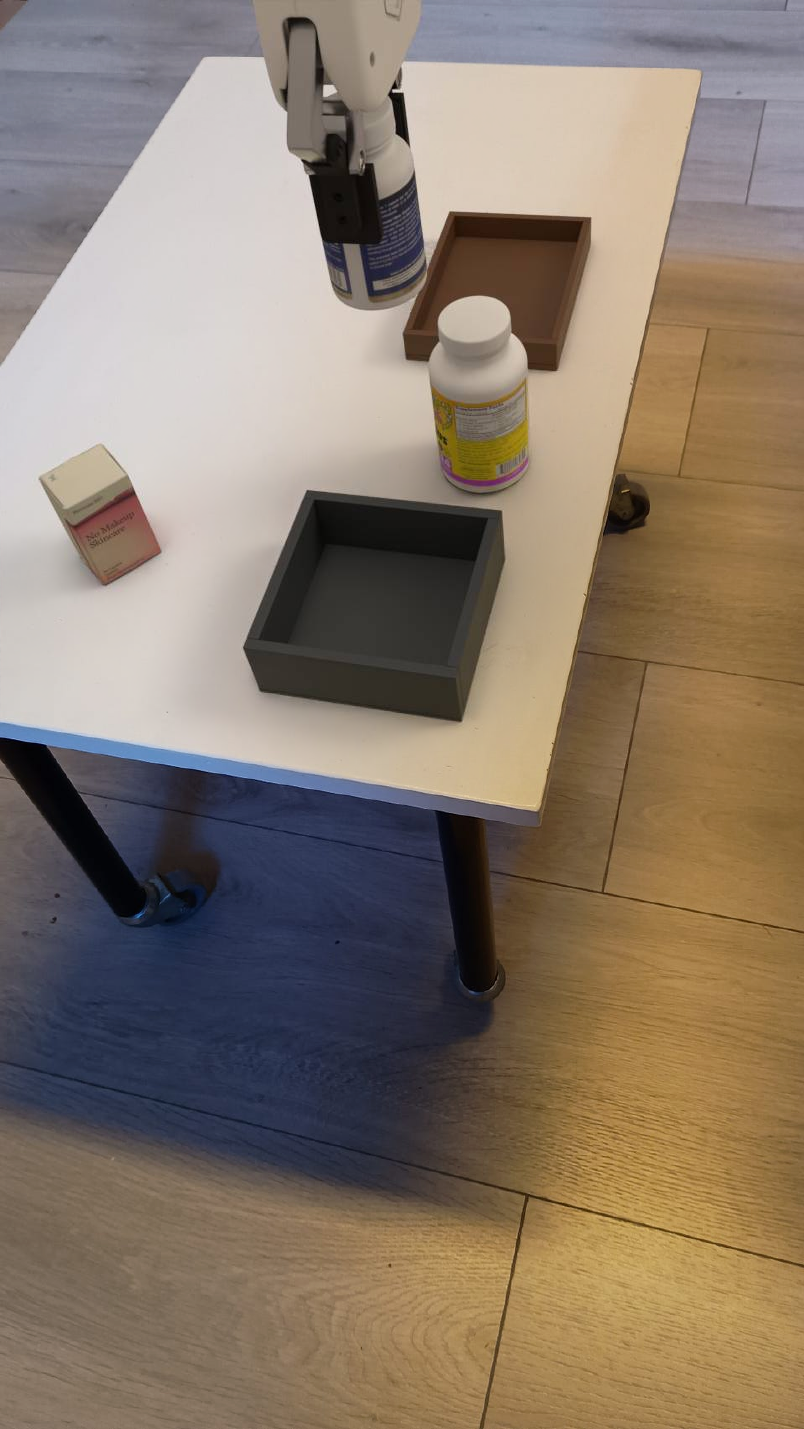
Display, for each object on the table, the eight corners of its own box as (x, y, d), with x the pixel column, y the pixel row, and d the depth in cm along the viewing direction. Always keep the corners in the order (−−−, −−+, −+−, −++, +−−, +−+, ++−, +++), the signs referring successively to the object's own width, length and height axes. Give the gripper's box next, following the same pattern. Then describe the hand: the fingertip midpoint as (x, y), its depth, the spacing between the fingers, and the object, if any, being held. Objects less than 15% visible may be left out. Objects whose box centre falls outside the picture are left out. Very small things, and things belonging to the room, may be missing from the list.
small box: (104, 587, 79) (62, 510, 73) (77, 554, 82) (35, 476, 75) (164, 552, 81) (129, 472, 74) (136, 519, 83) (100, 440, 76)
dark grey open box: (319, 537, 80) (306, 489, 76) (505, 558, 77) (502, 509, 73) (259, 691, 73) (242, 647, 69) (461, 722, 70) (455, 678, 66)
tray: (451, 237, 97) (449, 210, 95) (590, 243, 95) (591, 216, 92) (405, 359, 89) (402, 333, 87) (556, 370, 86) (556, 344, 84)
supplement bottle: (446, 432, 84) (429, 285, 73) (533, 432, 83) (530, 283, 72) (435, 497, 80) (416, 352, 70) (526, 498, 79) (521, 351, 69)
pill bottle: (440, 257, 62) (421, 80, 54) (411, 318, 60) (387, 142, 52) (351, 249, 64) (319, 76, 56) (318, 309, 61) (281, 136, 53)
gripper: (333, -139, 38) (399, 313, 53) (441, -317, 46) (471, 114, 62) (132, -129, 39) (252, 306, 54) (272, -302, 48) (342, 113, 63)
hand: (368, 201), depth 58 cm, fingers closed on pill bottle, 5 cm apart
